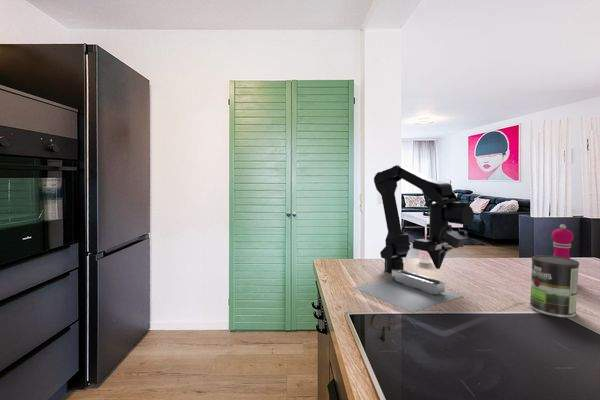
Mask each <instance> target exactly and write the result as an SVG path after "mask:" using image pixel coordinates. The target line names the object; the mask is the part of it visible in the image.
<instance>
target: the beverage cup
mask: <svg viewBox="0 0 600 400" xmlns="http://www.w3.org/2000/svg"><path fill="white" fill-rule="evenodd" d="M424 231H425V232H424V239H426V236H427V229H425V230H424ZM426 240H427V239H426ZM418 254H419V255H418V256H419V262H420V263H422V264H431V263H432V259H431V257H430V255H429V254H428V252H427V251H422V250H418Z"/></svg>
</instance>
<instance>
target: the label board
mask: <svg viewBox="0 0 600 400" xmlns="http://www.w3.org/2000/svg"><path fill="white" fill-rule="evenodd" d="M352 288H353V289H355V290H358V291H360V292H362V293H365V294H367V295H369V296H372V297H375V298H377V299H379V300H381V301H383V302H387V303H389V304H392V305H393V306H395V307H399V308H401V309H403V310H405V311H408V312H410V313H414V312H418V311H421V310H424V309H427V308H431V307H434V306H437V305H440V304H443V303H445V302H449V301H452V300H455V299H458V298H461V297H464V295H463V294H459V293H456V292H454V291H451V290H447V289H445V292H443V293H440V294H437V295H436V294H433V293H430V292H427V291H424V290H421V289H418V288H415V287H412V286H409V285H406V284H403V283H400V282H398V281H395V280H393V279H392V277H391V278H387V279H384V280H378V281H374V282H369V283H366V284H362V285H357V286H352Z"/></svg>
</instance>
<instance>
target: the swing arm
mask: <svg viewBox="0 0 600 400" xmlns="http://www.w3.org/2000/svg"><path fill="white" fill-rule="evenodd" d="M391 278H392V279H393V280H395V281H398V282H400V283H403V284H406V285H409V286H412V287H415V288H418V289H421V290H424V291H427V292H430V293H433V294H436V295H437V294H440V293H443V292H445V290H446V282H444V281H441V280H439V279H435V278H431V277H428V276H425V275H420V274H418V273H414V272H410V271H408V270H404V269H403V271H402V270H400V269H393V270H392V273H391Z"/></svg>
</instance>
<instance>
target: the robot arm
mask: <svg viewBox="0 0 600 400" xmlns="http://www.w3.org/2000/svg"><path fill="white" fill-rule="evenodd" d="M402 180H403V181H405V182H407V183H409V184H411V185H412V186H415V187H416V188H418V189H419V190H420V191H422V194H423V195H424V196H425V197H426V198H428V201H427V202H425V203H424V204H423V206H424V207H426V208H427V207H428V208H429V223H426V228H428V229H429V230H428V231H429V233H428V234H429V235H426V239H425V238H419V239H414V240H413V241H412V244H411V242H410V236H409V234H408V233H406V234H405V233H404V232H403V230H402V227H401V221H400V216H399V214H400V213H399V210H398V205H397V198H396V195H395V194H396V190H397V187H398V182H399V181H402ZM373 182H374V186H375V188H376V189H375V190H376V191H377V192H378V193H379V194H380V195H381V200H382V205H383V211H384V217H385V222H386V228H387V235H386V237H385V242H384V243H385V246H384V247H383V248H382V250H381V251H379V252H380V253H379V254H380V258H382V259H384V271H385V272H387V273H389V274H392V270H393V269H400V270H402V271H403V270H404V259H403V258H407V256H408V253H409V251H410V249H411V247H410V246H411V245H412V249H413V250H414V249H415V250H418V251H419V250H422V251H427V252H428V254H429V255H430V257H431V262H432V263H433V265H434V267H435V269H437V270H439V269H441V267H442V264H443V261H444V259H445V256H446V254H447V253H448V252H450V251H451V250H452V249H453V248H454V249H459V248H464V246H465V243H467V242H469V239H468V238H469V235H468V231H466V230H464V229H462V230H460V231H457V230H453V225H452V224H458V225H462V226H463V225H465V226H469V225H470V224H472V223H473V221H474V219H475V213H474V209H473V207H472V206H470V205H471V203H470V202H469V201H465V202H463V201H461V202H460V200H459V199H458V197H457V195H456V194H455V192H454V190H453V186H452V185H451V184H450V183H448V182H446V181H442V180H439V179H433V178H430V177H427V176H425V175H424V174H421V173H420V172H419V171H418V172H417V171H415V170H413V169H412V168H409V167H408V166H407V165H406V164H396V165H393V166H392V167H390V168H388V169H384V170H382V171H378V172H377V173H375V175H374V177H373ZM449 223H450V224H449Z"/></svg>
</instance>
